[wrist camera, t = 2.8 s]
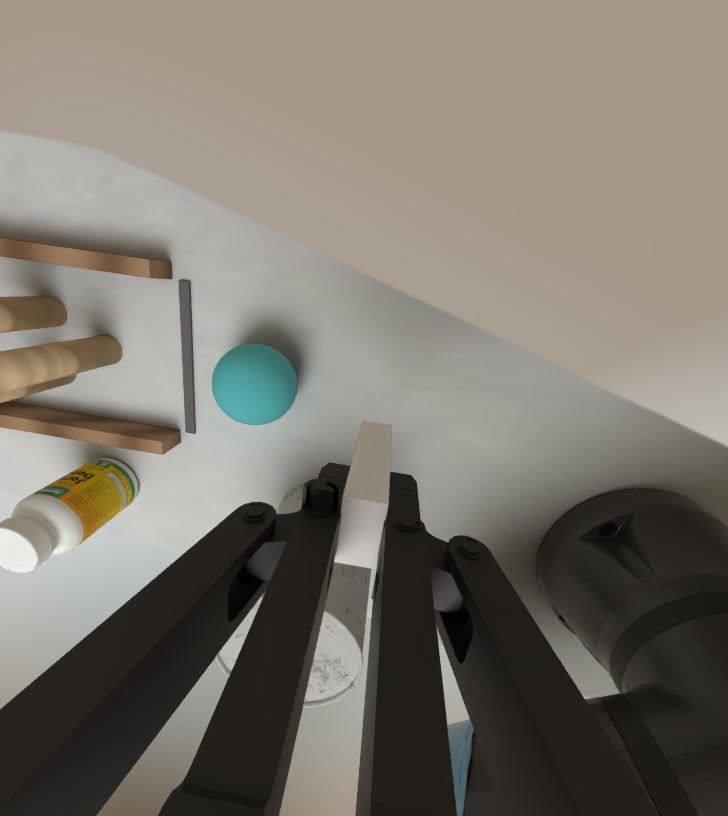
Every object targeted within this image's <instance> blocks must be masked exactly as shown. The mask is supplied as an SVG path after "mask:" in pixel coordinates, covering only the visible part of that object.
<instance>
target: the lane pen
mask: <svg viewBox="0 0 728 816" xmlns="http://www.w3.org/2000/svg"><path fill="white" fill-rule="evenodd" d="M0 256H2V257H9V258H16V259H22V260H29V261H36V262H43V263H50V264H57V265H64V266H70V267H77V268H84V269H91V270H98V271H105V272H112V273H118V274H125V275H132V276H139V277H146V278H159V279H172V267H171V262H165V261H159V260H152V259H145V258H138V257H131V256H124V255H117V254H110V253H103V252H96V251H89V250H82V249H75V248H68V247H61V246H54V245H47V244H40V243H33V242H26V241H19V240H12V239H5V238H0ZM0 427H3V428H9V429H14V430H20V431H26V432H32V433H38V434H44V435H50V436H55V437H61V438H67V439H73V440H79V441H85V442H91V443H96V444H102V445H108V446H114V447H120V448H126V449H131V450H137V451H143V452H149V453H155V454H161V455H163V454H165V453H166V452H168V451H169V450H170V449H172V448H173V447H175V446H176V445H178V444H179V443H180V442H181V440H180V430H175V429H169V428H163V427H157V426H151V425H145V424H139V423H133V422H127V421H121V420H115V419H109V418H103V417H97V416H91V415H85V414H79V413H73V412H67V411H61V410H55V409H49V408H43V407H37V406H31V405H25V404H19V403H13V402H7V401H6V402H3V403H0Z"/></svg>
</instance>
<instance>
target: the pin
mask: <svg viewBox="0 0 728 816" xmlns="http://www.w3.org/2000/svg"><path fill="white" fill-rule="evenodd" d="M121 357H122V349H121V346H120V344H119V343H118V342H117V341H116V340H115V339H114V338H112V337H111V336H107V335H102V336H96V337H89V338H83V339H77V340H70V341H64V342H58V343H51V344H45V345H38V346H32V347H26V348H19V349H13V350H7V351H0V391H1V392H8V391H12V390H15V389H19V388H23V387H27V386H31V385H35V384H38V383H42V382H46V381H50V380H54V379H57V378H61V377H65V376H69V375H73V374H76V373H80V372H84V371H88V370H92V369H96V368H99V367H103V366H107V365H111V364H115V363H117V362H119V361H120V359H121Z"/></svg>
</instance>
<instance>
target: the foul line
mask: <svg viewBox="0 0 728 816" xmlns="http://www.w3.org/2000/svg"><path fill="white" fill-rule="evenodd" d="M179 298H180V320H181V342H182V364H183V385H184V407H185V429H186V432H187V433H193V434H195V433H196V431H195V402H194V374H193V346H192V318H191V289H190V282H189V281H182V280H179Z"/></svg>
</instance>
